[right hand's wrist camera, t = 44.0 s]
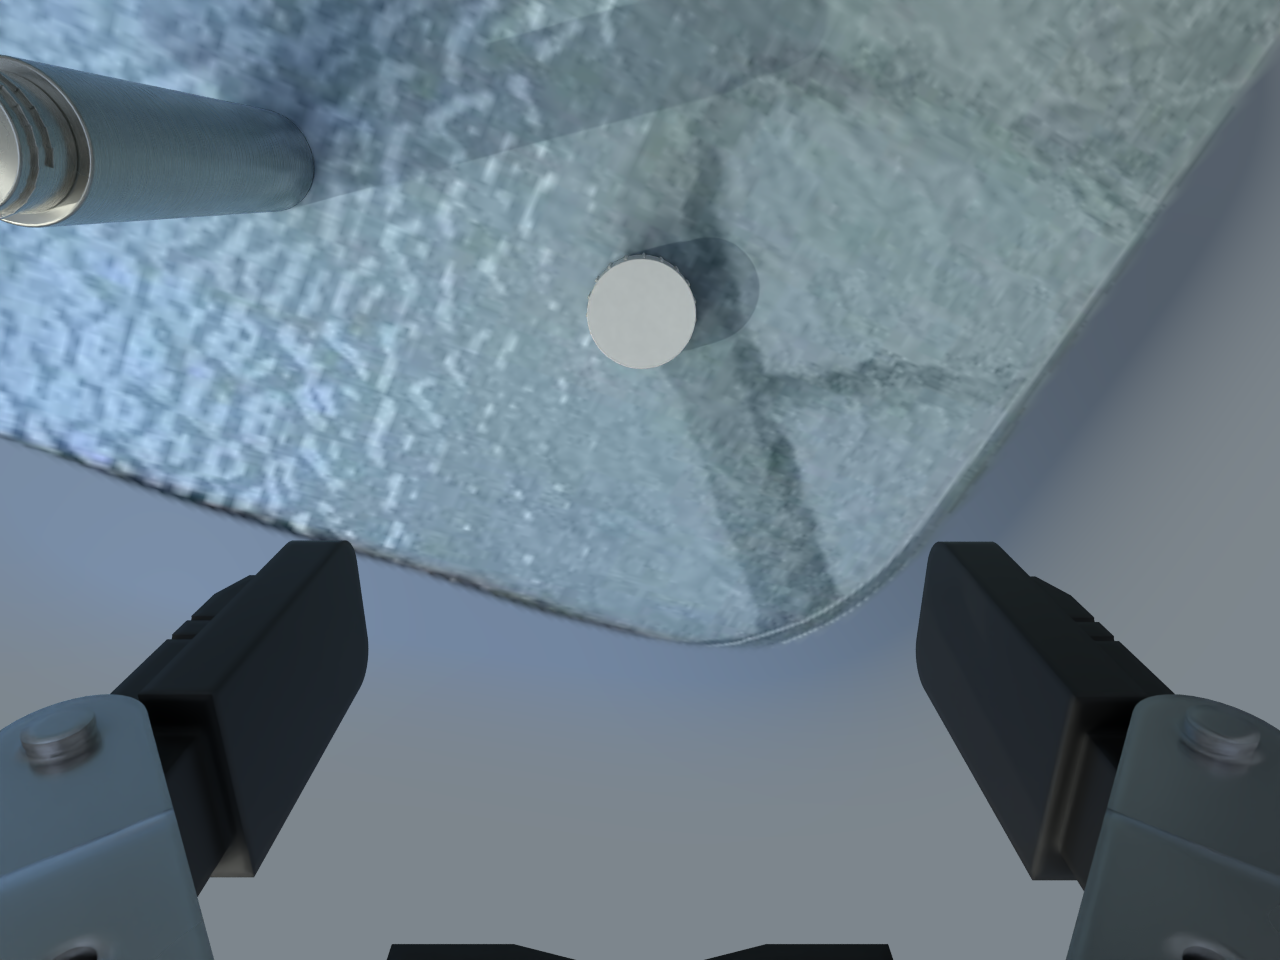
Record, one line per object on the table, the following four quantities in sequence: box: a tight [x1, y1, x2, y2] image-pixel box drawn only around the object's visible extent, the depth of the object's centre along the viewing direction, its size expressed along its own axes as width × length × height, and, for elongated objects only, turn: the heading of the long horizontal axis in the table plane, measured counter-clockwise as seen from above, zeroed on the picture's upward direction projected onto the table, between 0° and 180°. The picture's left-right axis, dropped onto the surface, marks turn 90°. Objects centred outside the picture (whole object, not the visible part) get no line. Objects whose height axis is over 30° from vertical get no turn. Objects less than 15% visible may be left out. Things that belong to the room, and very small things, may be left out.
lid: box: [586, 253, 697, 369], centre depth 36 cm, size 5×5×2 cm
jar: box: [0, 55, 314, 228], centre depth 27 cm, size 4×4×17 cm
